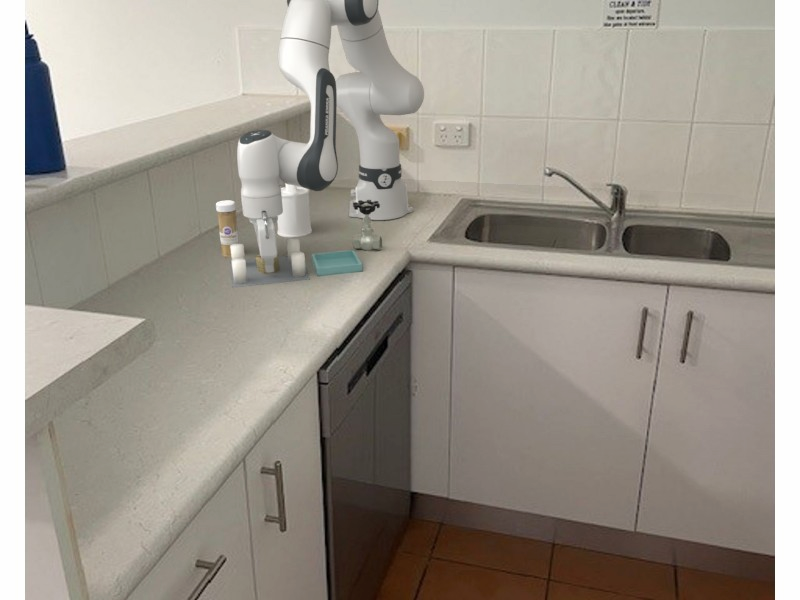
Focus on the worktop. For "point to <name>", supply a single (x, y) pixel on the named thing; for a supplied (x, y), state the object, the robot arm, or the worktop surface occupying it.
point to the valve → (367, 227)
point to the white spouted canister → (294, 212)
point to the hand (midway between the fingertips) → (268, 264)
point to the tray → (336, 263)
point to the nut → (262, 264)
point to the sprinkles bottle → (227, 225)
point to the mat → (259, 279)
